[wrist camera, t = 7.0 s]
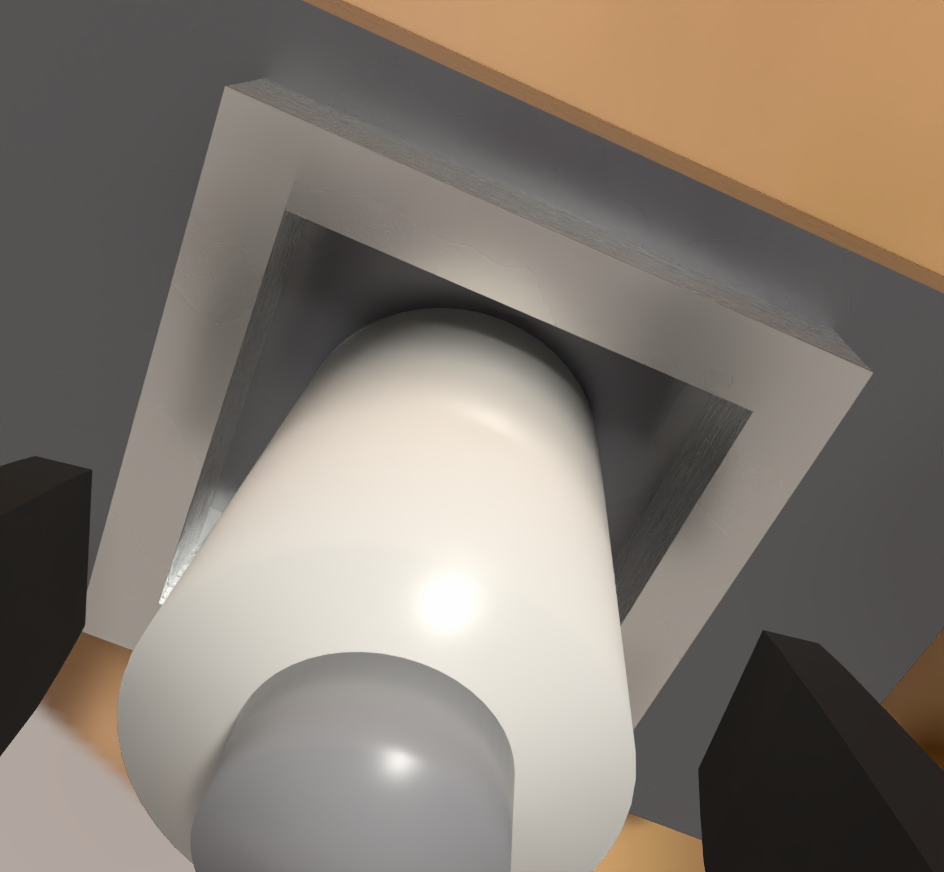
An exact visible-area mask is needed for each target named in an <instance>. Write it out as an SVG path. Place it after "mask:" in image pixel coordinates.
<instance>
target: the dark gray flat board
mask: <svg viewBox="0 0 944 872" xmlns="http://www.w3.org/2000/svg"><path fill="white" fill-rule="evenodd" d="M428 308H452V309H464V310H469V311H474V312H479V313H484V314H487V315H490V316H493V317H496V318H499V319H502V320H504V321H506V322H508V323H510V324H513V325H515V326H517V327H519V328H521V329H523V330H524V331H526V332H527V333H529V334H531V335H532V336H534V337H535V338H537V339H538V340H540V341H541V342H542V343H543V344H545V345H546V346H547V347H548V348H549V349H550V350H552V351H553V352H554V353H555V354H556V355H557V356H558V357H559V358H560V359H561V361H562V362H563V363H564V364H565V365H566V366H567V367H568V368H569V370H570V371H571V373H572V374H573V375H574V377H575V378H576V380H577V381H578V383H579V384H580V386H581V388H582V390H583V392H584V394H585V396H586V398H587V400H588V402H589V405H590V408H591V411H592V414H593V417H594V420H595V426H596V432H597V438H598V445H599V454H600V462H601V470H602V478H603V487H604V495H605V503H606V511H607V519H608V528H609V536H610V544H611V552H612V561H613V569H614V577H615V585H616V594H617V602H618V610H619V618H620V627H621V635H622V643H623V651H624V660H625V668H626V676H627V684H628V693H629V701H630V709H631V717H632V726H633V734H634V742H635V750H636V780H635V786H634V792H633V798H632V803H631V806H630V809H629V812H628V813H631V814H634V815H636V816H639V817H642V818H644V819H647V820H650V821H652V822H655V823H658V824H660V825H663V826H666V827H668V828H671V829H674V830H676V831H679V832H682V833H684V834H687V835H690V836H692V837H695V838H698V839H700V840H702V832H701V820H700V799H699V778H698V768H699V766H700V764H701V762H702V760H703V758H704V756H705V753H706V751H707V749H708V747H709V745H710V743H711V740H712V738H713V736H714V734H715V732H716V730H717V728H718V725H719V723H720V721H721V719H722V717H723V715H724V712H725V710H726V708H727V706H728V704H729V702H730V700H731V697H732V695H733V693H734V691H735V689H736V687H737V684H738V682H739V680H740V678H741V676H742V674H743V672H744V669H745V667H746V665H747V663H748V661H749V659H750V657H751V654H752V652H753V650H754V648H755V646H756V644H757V641H758V639H759V637H760V635H761V633H762V631H763V630H765V631H769V632H773V633H778V634H782V635H786V636H790V637H794V638H799V639H803V640H807V641H811V642H815V643H819V644H820V645H821V646H822V647H823V648H825V649H826V650H827V651H828V652H829V653H830V654H831V655H832V656H833V657H834V658H835V659H836V660H837V661H838V662H840V663H841V664H842V665H843V666H844V667H845V668H846V669H847V670H848V671H849V672H850V673H851V674H852V675H853V676H854V678H855V679H856V680H857V681H858V682H859V683H860V684H861V685H862V686H863V687H864V688H865V689H866V690H867V691H868V692H869V693H870V694H871V695H872V696H873V697H874V698H875V699H876V700H877V702H878V703H879V704H881V703H882V702H883V701H884V699H885V698H886V697H887V696H888V694H889V693H890V692H891V691H892V690H893V688H894V687H895V686H896V685H897V684H898V682H899V681H900V680H901V679H902V677H903V676H904V675H905V674H906V673H907V671H908V670H909V669H910V668H911V667H912V665H913V664H914V663H915V662H916V661H917V659H918V658H919V657H920V656H921V654H922V653H923V652H924V651H925V650H926V648H927V647H928V646H929V645H930V644H931V642H932V641H933V640H934V639H935V638H936V636H937V635H938V634H939V633H940V631H941V630H942V629H943V628H944V276H942V275H940V274H937V273H935V272H933V271H931V270H929V269H926V268H924V267H922V266H920V265H918V264H916V263H913V262H911V261H909V260H907V259H905V258H902V257H900V256H898V255H896V254H894V253H892V252H889V251H887V250H885V249H883V248H881V247H878V246H876V245H874V244H872V243H870V242H868V241H865V240H863V239H861V238H859V237H857V236H855V235H852V234H850V233H848V232H846V231H844V230H841V229H839V228H837V227H835V226H833V225H831V224H828V223H826V222H824V221H822V220H820V219H817V218H815V217H813V216H811V215H809V214H807V213H804V212H802V211H800V210H798V209H796V208H793V207H791V206H789V205H787V204H785V203H783V202H780V201H778V200H776V199H774V198H772V197H770V196H767V195H765V194H763V193H761V192H759V191H756V190H754V189H752V188H750V187H748V186H746V185H743V184H741V183H739V182H737V181H735V180H732V179H730V178H728V177H726V176H724V175H722V174H719V173H717V172H715V171H713V170H711V169H708V168H706V167H704V166H702V165H700V164H698V163H695V162H693V161H691V160H689V159H687V158H685V157H682V156H680V155H678V154H676V153H674V152H671V151H669V150H667V149H665V148H663V147H661V146H658V145H656V144H654V143H652V142H650V141H647V140H645V139H643V138H641V137H639V136H637V135H634V134H632V133H630V132H628V131H626V130H623V129H621V128H619V127H617V126H615V125H613V124H610V123H608V122H606V121H604V120H602V119H600V118H597V117H595V116H593V115H591V114H589V113H586V112H584V111H582V110H580V109H578V108H576V107H573V106H571V105H569V104H567V103H565V102H562V101H560V100H558V99H556V98H554V97H552V96H549V95H547V94H545V93H543V92H541V91H538V90H536V89H534V88H532V87H530V86H528V85H525V84H523V83H521V82H519V81H517V80H515V79H512V78H510V77H508V76H506V75H504V74H501V73H499V72H497V71H495V70H493V69H491V68H488V67H486V66H484V65H482V64H480V63H477V62H475V61H473V60H471V59H469V58H467V57H464V56H462V55H460V54H458V53H456V52H453V51H451V50H449V49H447V48H445V47H443V46H440V45H438V44H436V43H434V42H432V41H430V40H427V39H425V38H423V37H421V36H419V35H416V34H414V33H412V32H410V31H408V30H406V29H403V28H401V27H399V26H397V25H395V24H392V23H390V22H388V21H386V20H384V19H382V18H379V17H377V16H375V15H373V14H371V13H368V12H366V11H364V10H362V9H360V8H358V7H355V6H353V5H351V4H349V3H347V2H345V1H342V0H0V466H2V465H5V464H8V463H11V462H15V461H18V460H22V459H25V458H29V457H33V456H38V457H42V458H46V459H50V460H54V461H59V462H63V463H67V464H71V465H75V466H79V467H84V468H88V469H92V489H91V511H90V533H89V555H88V576H87V598H86V620H85V627H84V628H83V630H82V632H84V633H87V634H90V635H92V636H95V637H98V638H100V639H103V640H106V641H109V642H111V643H114V644H117V645H119V646H122V647H125V648H127V649H130V650H134V649H135V647H136V645H137V644H138V642H139V640H140V639H141V637H142V635H143V634H144V632H145V630H146V629H147V627H148V626H149V624H150V623H151V621H152V620H153V618H154V617H155V615H156V614H157V612H158V611H159V609H160V608H161V606H162V605H163V603H164V602H165V600H166V599H167V597H168V596H169V594H170V592H171V591H172V589H173V588H174V586H175V585H176V583H177V582H178V580H179V579H180V577H181V576H182V574H183V573H184V571H185V570H186V568H187V567H188V565H189V564H190V562H191V561H192V559H193V558H194V556H195V555H196V553H197V552H198V550H199V549H200V547H201V545H202V544H203V542H204V541H205V539H206V538H207V536H208V535H209V533H210V532H211V530H212V529H213V527H214V526H215V524H216V523H217V521H218V520H219V518H220V517H221V515H222V514H223V512H224V511H225V509H226V508H227V506H228V505H229V503H230V502H231V500H232V498H233V497H234V495H235V494H236V492H237V491H238V489H239V488H240V486H241V485H242V483H243V482H244V480H245V479H246V477H247V476H248V474H249V473H250V471H251V470H252V468H253V467H254V465H255V464H256V462H257V461H258V459H259V458H260V456H261V455H262V453H263V451H264V450H265V448H266V447H267V445H268V444H269V442H270V441H271V439H272V438H273V436H274V435H275V433H276V432H277V430H278V429H279V427H280V426H281V424H282V423H283V421H284V420H285V418H286V417H287V415H288V414H289V412H290V411H291V409H292V408H293V406H294V404H295V403H296V401H297V400H298V398H299V397H300V395H301V394H302V392H303V391H304V389H305V388H306V386H307V385H308V383H309V382H310V380H311V379H312V377H313V376H314V374H315V373H316V371H317V370H318V368H319V367H320V365H321V364H322V363H323V362H324V360H325V359H326V358H327V357H328V356H329V354H330V353H331V352H332V351H333V350H334V349H335V348H336V347H338V346H339V345H340V344H341V343H342V342H343V341H344V340H345V339H347V338H348V337H350V336H351V335H353V334H354V333H356V332H357V331H359V330H360V329H362V328H363V327H365V326H367V325H369V324H372V323H374V322H376V321H378V320H380V319H382V318H386V317H389V316H392V315H395V314H398V313H401V312H407V311H412V310H417V309H428Z"/></svg>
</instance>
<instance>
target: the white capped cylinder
mask: <svg viewBox="0 0 944 872" xmlns="http://www.w3.org/2000/svg"><path fill="white" fill-rule="evenodd" d="M117 730H118V737H119V743H120V749H121V755H122V758H123V761H124V764H125V767H126V770H127V773H128V777H129V779H130V781H131V784H132V786H133V788H134V790H135V792H136V794H137V796H138V798H139V800H140V802H141V804H142V805H143V806H144V808H145V810H146V811H147V813H148V814H149V816H150V817H151V819H152V820H153V821H154V823H155V824H156V826H157V827H158V828H159V829H160V831H161V832H162V833H163V834H164V835H165V836H166V837H167V839H168V840H169V841H170V842H171V843H172V844H173V845H174V847H175V848H177V850H179V851H180V852H181V853H182V854H183V855H184V856H185V857H186V858H187V859H188V860H189V861H190V862H192V863H193V864H194V867H195V871H196V872H592V871H593V870H594V869H595V868H596V867H597V866H598V864H599V863H600V862H601V861H602V859H603V858H604V857H605V856H606V854H607V853H608V852H609V851H610V849H611V847H612V846H613V844H614V842H615V840H616V839H617V837H618V835H619V833H620V832H621V830H622V828H623V826H624V823H625V820H626V817H627V815H628V812H629V809H630V806H631V803H632V798H633V792H634V786H635V780H636V750H635V742H634V734H633V726H632V717H631V709H630V701H629V693H628V684H627V676H626V668H625V660H624V651H623V643H622V635H621V627H620V618H619V610H618V602H617V594H616V585H615V577H614V569H613V561H612V552H611V544H610V536H609V528H608V519H607V511H606V503H605V495H604V487H603V478H602V470H601V462H600V454H599V445H598V438H597V432H596V426H595V420H594V417H593V414H592V411H591V408H590V405H589V402H588V400H587V398H586V396H585V394H584V392H583V390H582V388H581V386H580V384H579V383H578V381H577V380H576V378H575V377H574V375H573V374H572V373H571V371H570V370H569V368H568V367H567V366H566V365H565V364H564V363H563V362H562V361H561V359H560V358H559V357H558V356H557V355H556V354H555V353H554V352H553V351H552V350H550V349H549V348H548V347H547V346H546V345H545V344H543V343H542V342H541V341H540V340H538V339H537V338H535V337H534V336H532V335H531V334H529V333H527V332H526V331H524V330H523V329H521V328H519V327H517V326H515V325H513V324H510V323H508V322H506V321H504V320H502V319H499V318H496V317H493V316H490V315H487V314H484V313H479V312H474V311H469V310H464V309H452V308H428V309H417V310H412V311H407V312H401V313H398V314H395V315H392V316H389V317H386V318H382V319H380V320H378V321H376V322H374V323H372V324H369V325H367V326H365V327H363V328H362V329H360V330H359V331H357V332H356V333H354V334H353V335H351V336H350V337H348V338H347V339H345V340H344V341H343V342H342V343H341V344H340V345H339V346H338V347H336V348H335V349H334V350H333V351H332V352H331V353H330V354H329V356H328V357H327V358H326V359H325V360H324V362H323V363H322V364H321V365H320V367H319V368H318V370H317V371H316V373H315V374H314V376H313V377H312V379H311V380H310V382H309V383H308V385H307V386H306V388H305V389H304V391H303V392H302V394H301V395H300V397H299V398H298V400H297V401H296V403H295V404H294V406H293V408H292V409H291V411H290V412H289V414H288V415H287V417H286V418H285V420H284V421H283V423H282V424H281V426H280V427H279V429H278V430H277V432H276V433H275V435H274V436H273V438H272V439H271V441H270V442H269V444H268V445H267V447H266V448H265V450H264V451H263V453H262V455H261V456H260V458H259V459H258V461H257V462H256V464H255V465H254V467H253V468H252V470H251V471H250V473H249V474H248V476H247V477H246V479H245V480H244V482H243V483H242V485H241V486H240V488H239V489H238V491H237V492H236V494H235V495H234V497H233V498H232V500H231V502H230V503H229V505H228V506H227V508H226V509H225V511H224V512H223V514H222V515H221V517H220V518H219V520H218V521H217V523H216V524H215V526H214V527H213V529H212V530H211V532H210V533H209V535H208V536H207V538H206V539H205V541H204V542H203V544H202V545H201V547H200V549H199V550H198V552H197V553H196V555H195V556H194V558H193V559H192V561H191V562H190V564H189V565H188V567H187V568H186V570H185V571H184V573H183V574H182V576H181V577H180V579H179V580H178V582H177V583H176V585H175V586H174V588H173V589H172V591H171V592H170V594H169V596H168V597H167V599H166V600H165V602H164V603H163V605H162V606H161V608H160V609H159V611H158V612H157V614H156V615H155V617H154V618H153V620H152V621H151V623H150V624H149V626H148V627H147V629H146V630H145V632H144V634H143V635H142V637H141V639H140V640H139V642H138V644H137V645H136V647H135V649H134V650H133V652H132V654H131V656H130V659H129V662H128V664H127V667H126V670H125V672H124V675H123V677H122V682H121V688H120V693H119V698H118V707H117Z"/></svg>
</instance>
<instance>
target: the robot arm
mask: <svg viewBox="0 0 944 872" xmlns="http://www.w3.org/2000/svg"><path fill="white" fill-rule="evenodd" d="M91 489H92V469H88V468H84V467H79V466H75V465H71V464H67V463H63V462H59V461H54V460H50V459H46V458H42V457H38V456H33V457H29V458H25V459H22V460H18V461H15V462H11V463H8V464H5V465H2V466H0V756H1V755H2V753H3V752H4V751H5V749H6V748H7V747H8V745H9V744H10V743H11V741H12V740H13V739H14V737H15V736H16V735H17V734H18V732H19V731H20V730H21V728H22V727H23V726H24V724H25V723H26V722H27V720H28V719H29V718H30V716H31V715H32V714H33V712H34V711H35V710H36V708H37V707H38V705H39V704H40V702H41V700H42V699H43V697H44V696H45V694H46V692H47V691H48V689H49V687H50V686H51V684H52V682H53V681H54V679H55V677H56V676H57V674H58V672H59V671H60V669H61V667H62V666H63V664H64V662H65V660H66V658H67V657H68V655H69V653H70V651H71V650H72V648H73V646H74V644H75V643H76V641H77V639H78V637H79V636H80V634H81V632H82V630H83V628H84V627H85V620H86V598H87V576H88V555H89V533H90V511H91ZM698 778H699V799H700V820H701V832H702V845H703V858H704V866H705V871H706V872H944V771H943V770H942V769H941V768H940V767H939V766H938V765H937V764H936V763H935V762H934V761H933V760H932V759H931V758H930V757H929V756H928V755H927V754H926V753H925V751H924V750H923V749H922V748H921V747H920V746H919V745H918V744H917V743H916V742H915V741H914V740H913V739H912V738H911V737H910V736H909V734H908V733H907V732H906V731H905V730H904V729H903V728H902V727H901V726H900V725H899V724H898V723H897V722H896V721H895V720H894V719H893V717H892V716H891V715H890V714H889V713H888V712H887V711H886V710H885V709H884V708H883V707H882V706H881V705H880V704H879V703H878V702H877V700H876V699H875V698H874V697H873V696H872V695H871V694H870V693H869V692H868V691H867V690H866V689H865V688H864V687H863V686H862V685H861V684H860V683H859V682H858V681H857V680H856V679H855V678H854V676H853V675H852V674H851V673H850V672H849V671H848V670H847V669H846V668H845V667H844V666H843V665H842V664H841V663H840V662H838V661H837V660H836V659H835V658H834V657H833V656H832V655H831V654H830V653H829V652H828V651H827V650H826V649H825V648H823V647H822V646H821V645H820V644H819V643H815V642H811V641H807V640H803V639H799V638H794V637H790V636H786V635H782V634H778V633H773V632H769V631H765V630H763V631H762V633H761V635H760V637H759V639H758V641H757V644H756V646H755V648H754V650H753V652H752V654H751V657H750V659H749V661H748V663H747V665H746V667H745V669H744V672H743V674H742V676H741V678H740V680H739V682H738V684H737V687H736V689H735V691H734V693H733V695H732V697H731V700H730V702H729V704H728V706H727V708H726V710H725V712H724V715H723V717H722V719H721V721H720V723H719V725H718V728H717V730H716V732H715V734H714V736H713V738H712V740H711V743H710V745H709V747H708V749H707V751H706V753H705V756H704V758H703V760H702V762H701V764H700V766H699V768H698Z"/></svg>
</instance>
